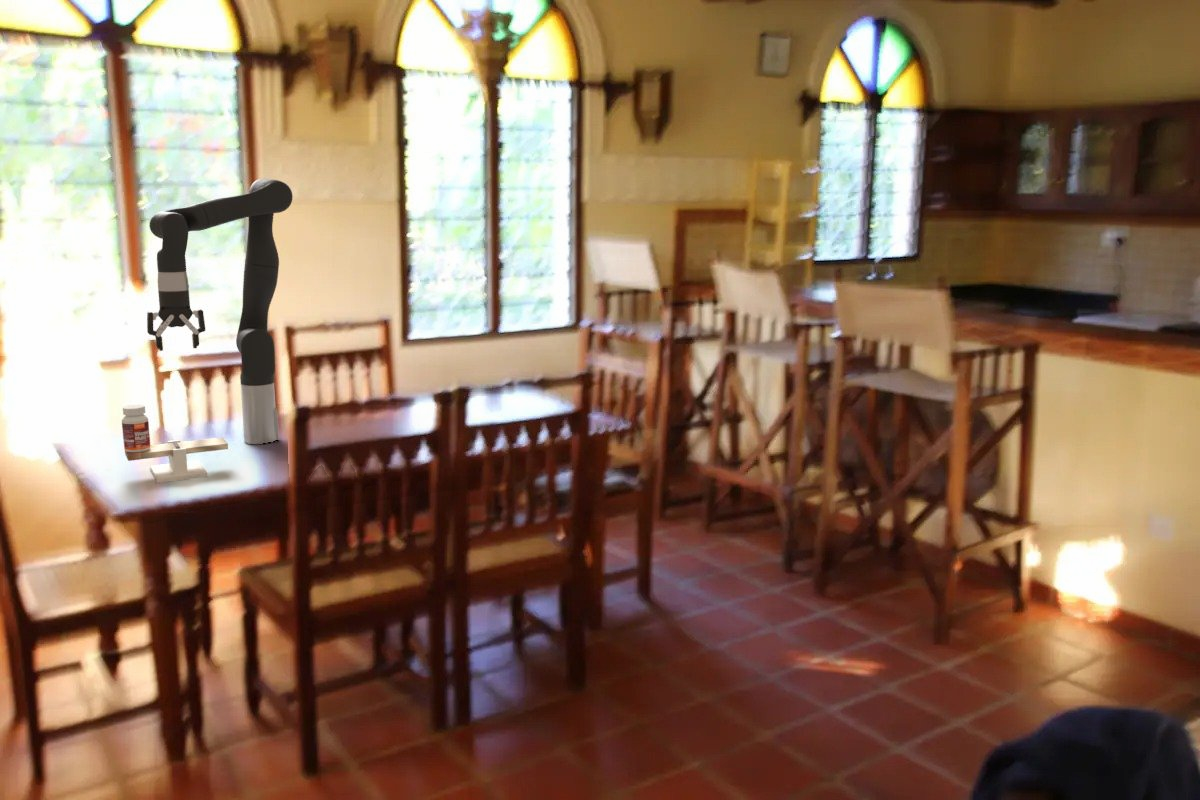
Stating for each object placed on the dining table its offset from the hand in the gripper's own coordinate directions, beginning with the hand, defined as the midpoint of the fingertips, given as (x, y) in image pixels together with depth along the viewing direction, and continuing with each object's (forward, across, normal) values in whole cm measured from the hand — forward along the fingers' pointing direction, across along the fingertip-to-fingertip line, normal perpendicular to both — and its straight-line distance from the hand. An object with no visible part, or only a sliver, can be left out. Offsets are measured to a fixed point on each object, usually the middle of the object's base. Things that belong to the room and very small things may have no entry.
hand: (178, 349), depth 281 cm
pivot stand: (+30, +4, +15) cm, 34 cm away
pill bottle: (+23, +13, +15) cm, 31 cm away
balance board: (+24, +4, +15) cm, 28 cm away
